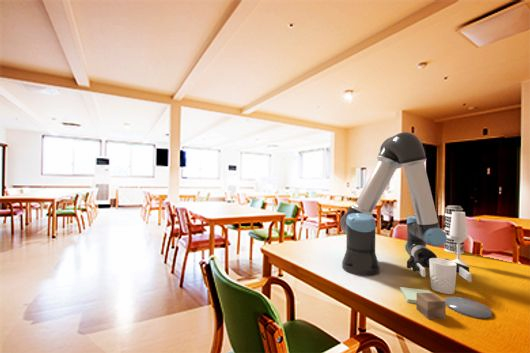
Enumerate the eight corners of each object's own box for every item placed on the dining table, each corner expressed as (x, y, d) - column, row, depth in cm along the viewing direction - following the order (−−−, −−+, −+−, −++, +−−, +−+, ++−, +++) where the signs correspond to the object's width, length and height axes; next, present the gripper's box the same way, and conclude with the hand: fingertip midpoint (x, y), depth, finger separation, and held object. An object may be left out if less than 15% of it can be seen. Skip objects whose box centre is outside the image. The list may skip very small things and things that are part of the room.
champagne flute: (467, 267, 108) (467, 213, 108) (448, 263, 112) (448, 212, 112) (468, 263, 113) (468, 212, 113) (450, 259, 117) (450, 210, 117)
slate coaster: (454, 314, 69) (454, 312, 69) (438, 296, 80) (438, 294, 80) (501, 321, 66) (501, 318, 66) (478, 301, 77) (478, 299, 77)
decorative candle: (439, 248, 137) (439, 204, 137) (457, 249, 135) (457, 205, 136) (449, 253, 128) (449, 206, 128) (468, 254, 126) (468, 206, 127)
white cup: (461, 296, 80) (461, 266, 80) (435, 293, 82) (435, 264, 82) (448, 286, 88) (448, 258, 88) (425, 284, 90) (425, 257, 90)
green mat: (407, 302, 76) (407, 299, 76) (400, 289, 85) (400, 286, 85) (440, 306, 74) (440, 303, 74) (429, 293, 82) (429, 290, 82)
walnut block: (427, 319, 67) (427, 301, 67) (416, 309, 72) (416, 292, 72) (445, 319, 67) (445, 301, 67) (433, 309, 72) (433, 293, 72)
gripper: (458, 268, 100) (490, 291, 79) (392, 262, 107) (406, 281, 86) (458, 250, 100) (490, 268, 80) (392, 245, 107) (406, 260, 86)
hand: (446, 275), depth 83 cm, fingers open, 13 cm apart
